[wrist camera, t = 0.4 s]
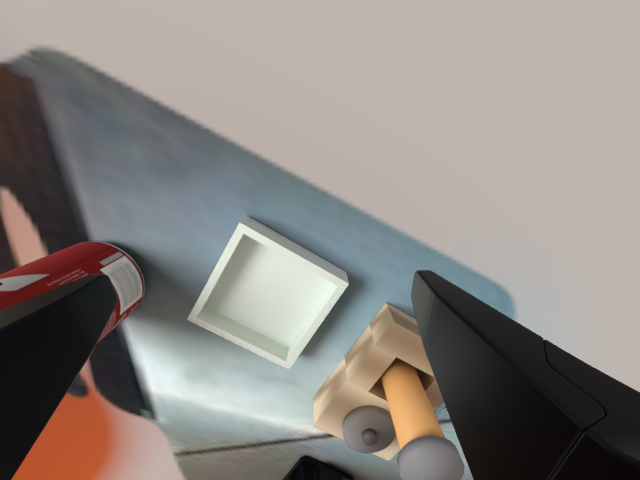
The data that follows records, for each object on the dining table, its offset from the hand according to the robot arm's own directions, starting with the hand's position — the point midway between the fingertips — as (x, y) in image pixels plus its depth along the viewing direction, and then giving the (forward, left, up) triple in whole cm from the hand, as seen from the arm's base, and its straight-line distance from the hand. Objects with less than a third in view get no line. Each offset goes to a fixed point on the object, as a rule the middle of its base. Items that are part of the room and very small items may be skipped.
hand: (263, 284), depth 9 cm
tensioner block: (-10, -15, -15) cm, 23 cm away
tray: (-8, -2, -15) cm, 17 cm away
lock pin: (-8, -15, -15) cm, 22 cm away
